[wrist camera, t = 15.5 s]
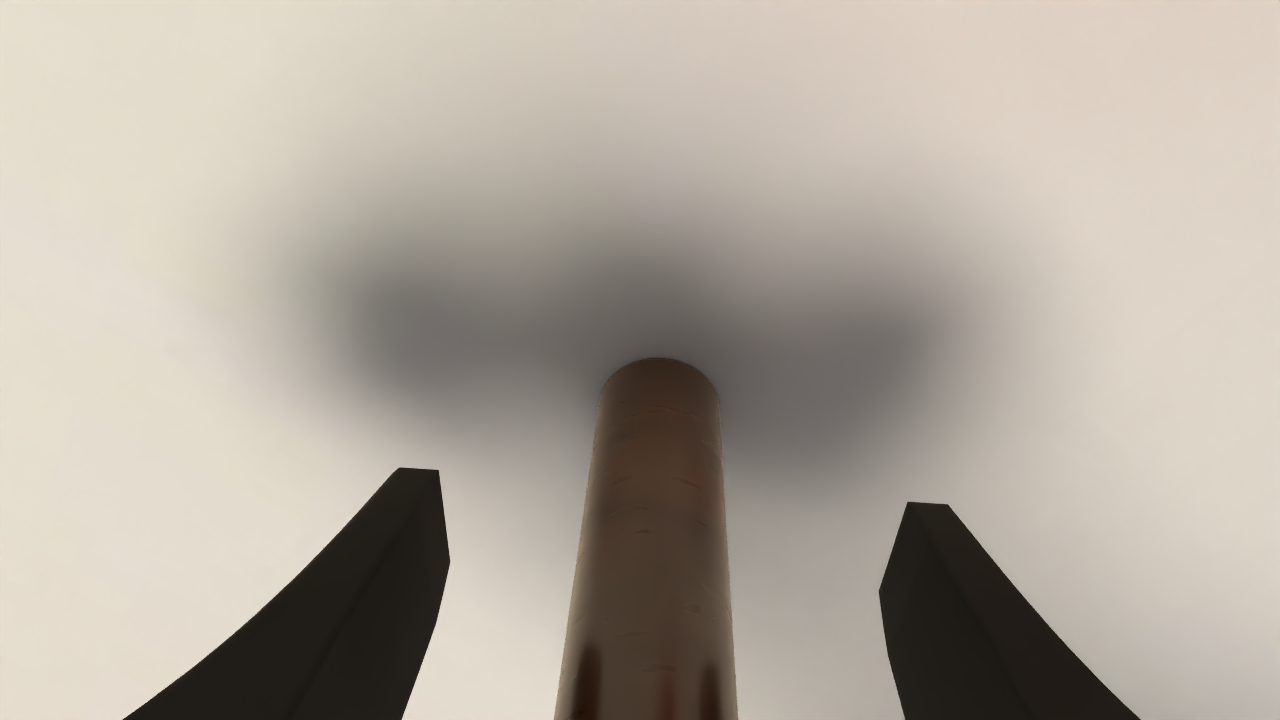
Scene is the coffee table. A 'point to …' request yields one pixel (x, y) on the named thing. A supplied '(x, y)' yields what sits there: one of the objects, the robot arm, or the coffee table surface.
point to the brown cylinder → (652, 558)
